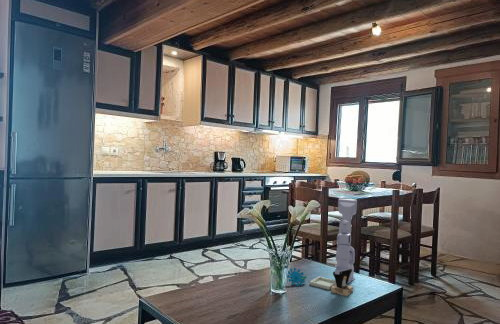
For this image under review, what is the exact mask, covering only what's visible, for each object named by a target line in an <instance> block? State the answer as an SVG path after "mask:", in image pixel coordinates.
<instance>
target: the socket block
mask: <svg viewBox="0 0 500 324" xmlns="http://www.w3.org/2000/svg"><path fill="white" fill-rule="evenodd" d="M330 292H331V293H333V294H336V293H337V295H340V296H345V297H348V296H349V295H351V294H353V292H354V286H353V285H348V284H345V289H343V288H338V287H337V285H336V284H335V285H333V286H332V287H331V290H330Z"/></svg>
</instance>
